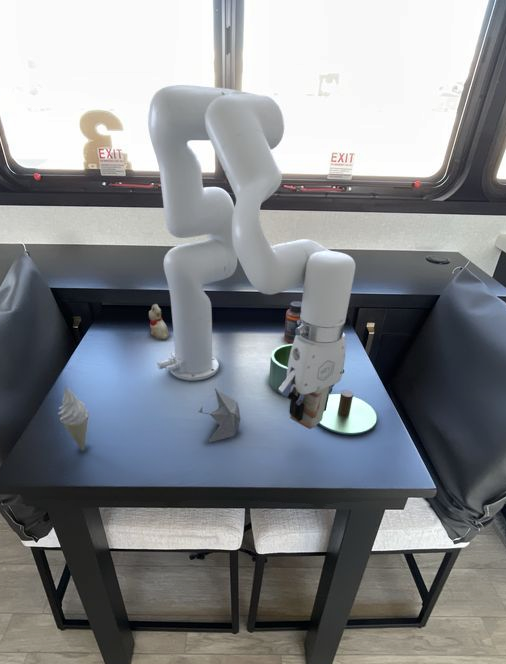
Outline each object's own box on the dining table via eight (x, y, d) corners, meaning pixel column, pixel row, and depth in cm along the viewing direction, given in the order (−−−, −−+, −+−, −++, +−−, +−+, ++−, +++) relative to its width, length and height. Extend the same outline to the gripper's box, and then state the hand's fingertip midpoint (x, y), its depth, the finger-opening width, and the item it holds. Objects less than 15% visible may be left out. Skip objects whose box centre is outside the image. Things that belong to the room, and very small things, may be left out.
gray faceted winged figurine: (242, 442, 82) (197, 435, 80) (233, 450, 88) (191, 444, 86) (247, 388, 87) (204, 379, 85) (238, 399, 93) (198, 391, 91)
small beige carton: (288, 418, 82) (294, 375, 76) (301, 409, 84) (308, 366, 79) (310, 430, 79) (318, 387, 73) (323, 420, 82) (331, 377, 76)
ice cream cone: (72, 442, 83) (56, 378, 75) (98, 441, 84) (84, 378, 76) (66, 459, 79) (47, 394, 71) (93, 458, 79) (78, 393, 71)
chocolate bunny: (169, 328, 128) (166, 297, 123) (168, 340, 122) (166, 307, 116) (150, 329, 128) (147, 298, 122) (149, 340, 121) (146, 308, 116)
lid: (341, 445, 84) (346, 421, 81) (297, 409, 94) (300, 387, 91) (389, 423, 90) (396, 400, 87) (343, 391, 100) (347, 370, 97)
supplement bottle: (303, 345, 120) (307, 308, 114) (282, 343, 121) (285, 306, 115) (304, 336, 125) (308, 300, 119) (285, 334, 126) (288, 299, 120)
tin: (291, 404, 96) (294, 376, 92) (258, 377, 105) (260, 351, 101) (333, 388, 102) (338, 361, 98) (299, 364, 111) (302, 339, 107)
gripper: (295, 349, 64) (283, 438, 74) (372, 326, 72) (353, 409, 82) (267, 329, 69) (260, 415, 79) (342, 310, 77) (327, 390, 87)
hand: (307, 411), depth 80 cm, fingers closed on small beige carton, 5 cm apart
